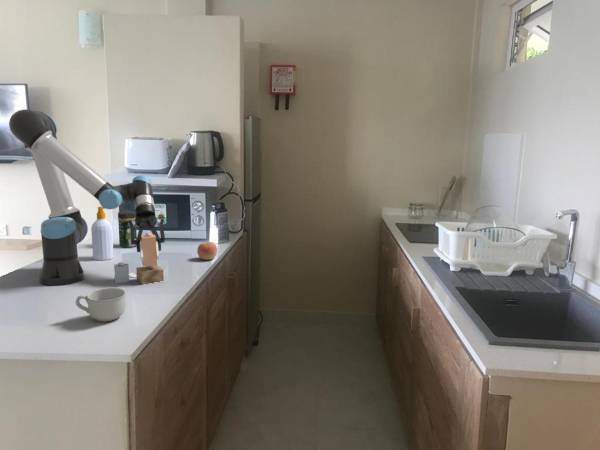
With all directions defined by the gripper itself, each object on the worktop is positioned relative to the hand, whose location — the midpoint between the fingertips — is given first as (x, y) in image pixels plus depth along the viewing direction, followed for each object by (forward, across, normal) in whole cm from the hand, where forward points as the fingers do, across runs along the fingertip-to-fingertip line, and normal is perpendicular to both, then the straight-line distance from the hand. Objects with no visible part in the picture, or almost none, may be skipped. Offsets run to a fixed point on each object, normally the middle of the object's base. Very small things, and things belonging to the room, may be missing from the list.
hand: (150, 258), depth 171 cm
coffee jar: (-42, +5, -56) cm, 70 cm away
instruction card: (-3, +4, -17) cm, 18 cm away
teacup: (+29, +17, +15) cm, 37 cm away
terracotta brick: (0, 0, -5) cm, 5 cm away
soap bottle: (-26, +16, -40) cm, 50 cm away
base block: (+5, 0, -10) cm, 11 cm away
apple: (-14, -27, -28) cm, 41 cm away
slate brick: (+2, +10, -12) cm, 16 cm away
